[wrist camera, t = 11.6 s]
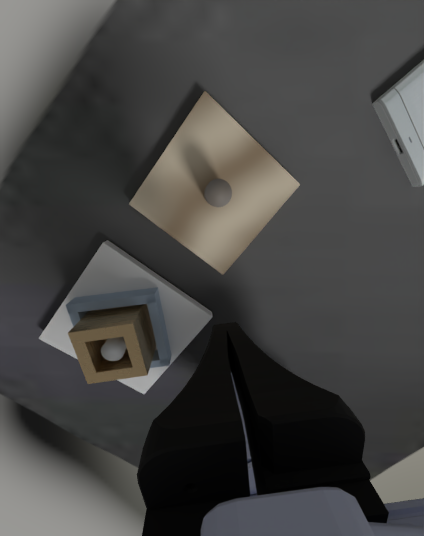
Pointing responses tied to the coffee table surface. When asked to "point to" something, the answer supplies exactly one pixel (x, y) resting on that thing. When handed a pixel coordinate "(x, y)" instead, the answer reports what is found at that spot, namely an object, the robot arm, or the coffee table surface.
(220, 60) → the coffee table surface
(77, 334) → the tan square ring block
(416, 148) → the hard drive
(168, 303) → the white peg base
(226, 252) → the stand
